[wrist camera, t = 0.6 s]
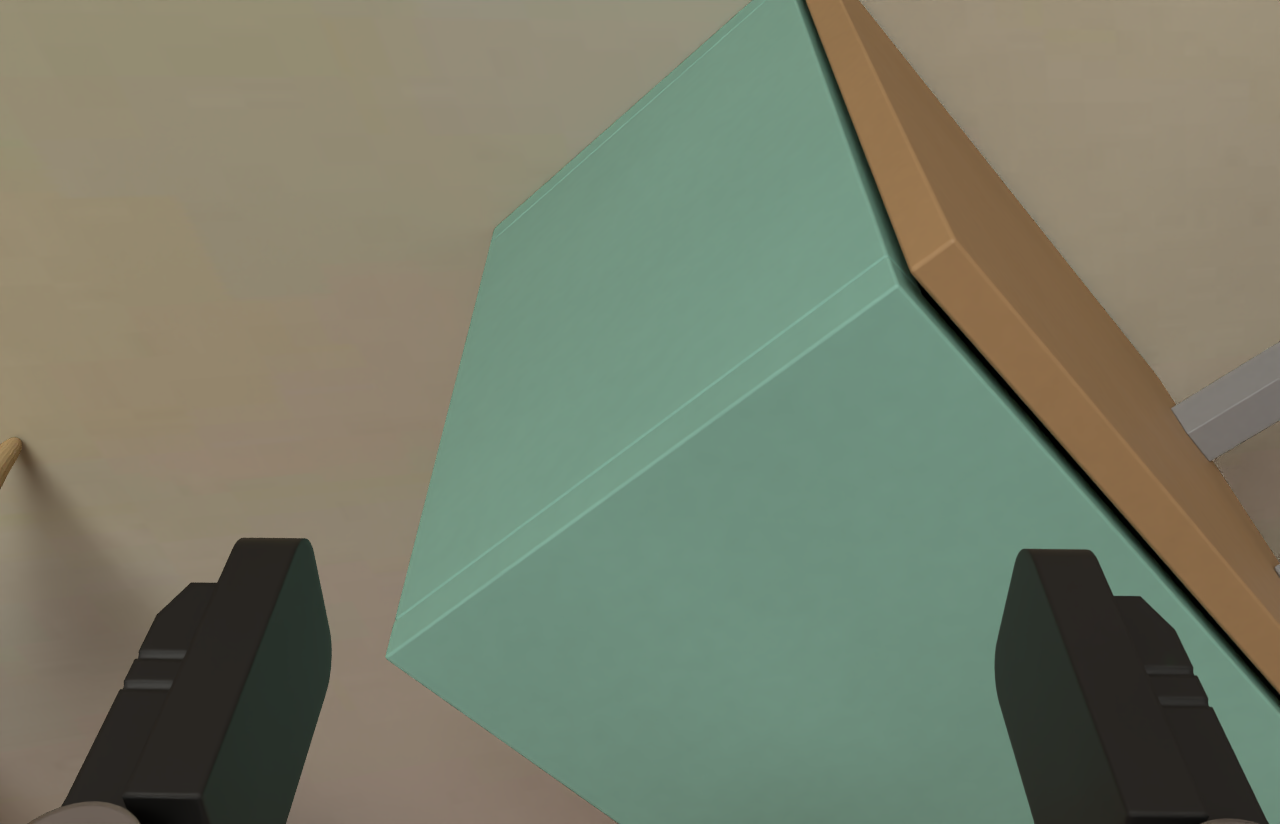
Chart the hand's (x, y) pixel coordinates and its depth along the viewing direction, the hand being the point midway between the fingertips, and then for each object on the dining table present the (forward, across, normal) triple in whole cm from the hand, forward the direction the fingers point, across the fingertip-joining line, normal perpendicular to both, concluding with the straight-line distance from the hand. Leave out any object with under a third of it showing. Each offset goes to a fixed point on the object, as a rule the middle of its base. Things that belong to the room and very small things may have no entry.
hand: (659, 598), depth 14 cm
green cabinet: (+31, -6, +14) cm, 35 cm away
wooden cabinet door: (+31, -15, +7) cm, 35 cm away
